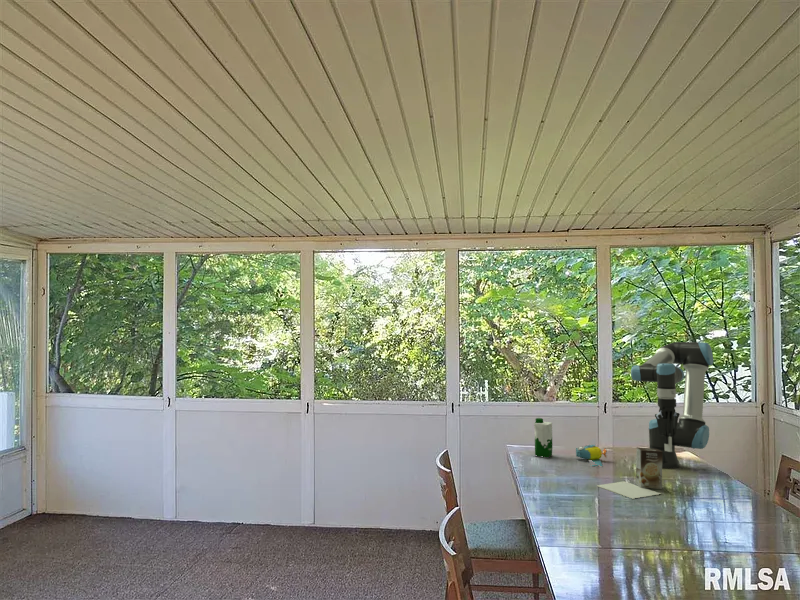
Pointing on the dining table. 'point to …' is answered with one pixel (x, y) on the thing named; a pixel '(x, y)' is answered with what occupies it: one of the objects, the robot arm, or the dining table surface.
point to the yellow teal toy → (591, 453)
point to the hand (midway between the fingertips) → (668, 451)
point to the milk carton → (543, 438)
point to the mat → (628, 489)
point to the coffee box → (649, 468)
